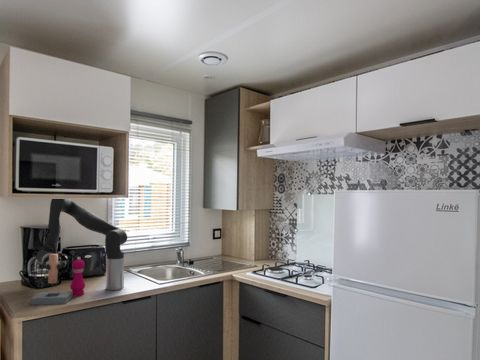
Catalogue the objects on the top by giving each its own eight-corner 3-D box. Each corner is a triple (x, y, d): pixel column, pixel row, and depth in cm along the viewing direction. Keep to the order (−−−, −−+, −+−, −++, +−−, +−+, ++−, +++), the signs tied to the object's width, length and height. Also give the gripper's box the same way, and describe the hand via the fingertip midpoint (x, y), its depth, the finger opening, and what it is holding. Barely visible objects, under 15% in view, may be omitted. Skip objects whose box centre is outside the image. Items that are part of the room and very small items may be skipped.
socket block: (72, 297, 176) (72, 291, 176) (66, 303, 166) (66, 297, 167) (39, 298, 174) (39, 292, 174) (30, 304, 164) (30, 298, 164)
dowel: (58, 281, 173) (59, 253, 173) (55, 283, 169) (56, 255, 169) (49, 281, 172) (51, 253, 173) (46, 283, 168) (47, 255, 169)
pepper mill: (71, 297, 176) (72, 258, 177) (68, 293, 182) (70, 256, 183) (86, 295, 181) (87, 257, 181) (83, 291, 186) (84, 255, 187)
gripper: (35, 255, 179) (37, 261, 164) (65, 253, 187) (70, 258, 173) (34, 269, 178) (37, 276, 164) (64, 266, 186) (69, 273, 172)
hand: (53, 267), depth 168 cm, fingers closed on dowel, 4 cm apart
